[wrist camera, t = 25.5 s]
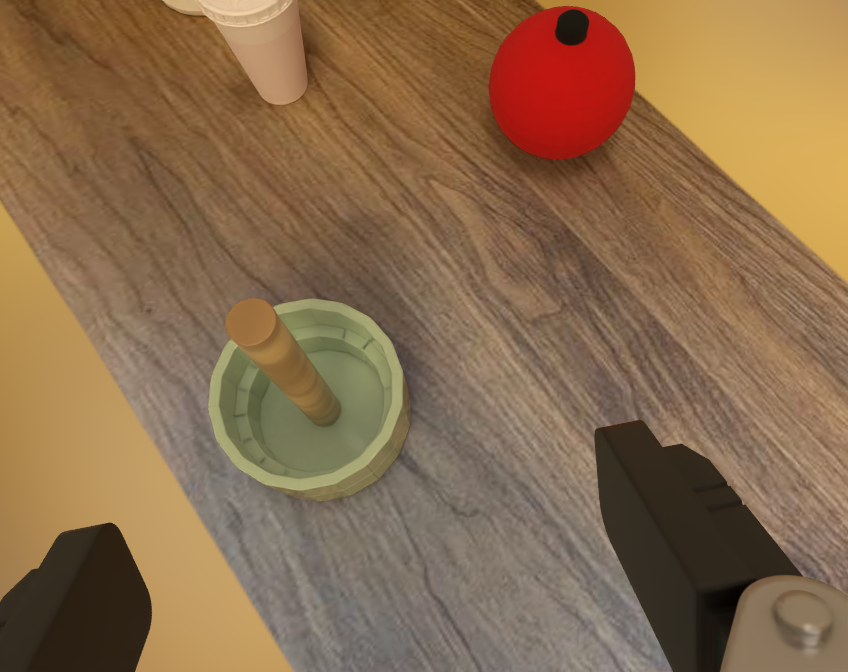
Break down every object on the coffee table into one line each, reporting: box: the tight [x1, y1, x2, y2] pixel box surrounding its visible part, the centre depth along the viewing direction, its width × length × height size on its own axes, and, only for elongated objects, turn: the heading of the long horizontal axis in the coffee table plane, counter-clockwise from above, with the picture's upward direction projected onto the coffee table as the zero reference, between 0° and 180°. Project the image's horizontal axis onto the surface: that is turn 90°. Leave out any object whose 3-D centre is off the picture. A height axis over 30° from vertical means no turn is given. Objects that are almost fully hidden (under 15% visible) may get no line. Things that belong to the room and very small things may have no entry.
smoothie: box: [196, 0, 308, 105], centre depth 43 cm, size 6×6×14 cm
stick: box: [226, 298, 341, 427], centre depth 33 cm, size 2×2×15 cm
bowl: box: [208, 298, 410, 501], centre depth 38 cm, size 10×10×6 cm
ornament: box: [489, 6, 635, 160], centre depth 42 cm, size 9×9×10 cm
